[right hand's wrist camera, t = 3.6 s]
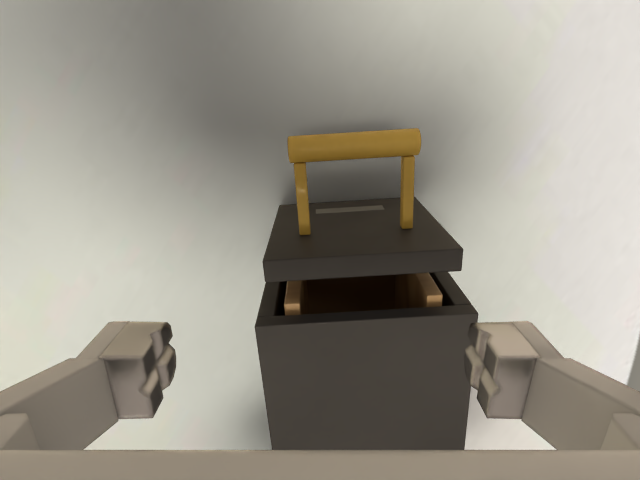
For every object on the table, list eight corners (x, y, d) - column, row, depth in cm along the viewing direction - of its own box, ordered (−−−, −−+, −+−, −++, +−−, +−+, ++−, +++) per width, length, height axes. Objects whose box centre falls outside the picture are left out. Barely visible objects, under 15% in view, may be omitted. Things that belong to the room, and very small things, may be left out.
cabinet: (276, 240, 29) (254, 326, 19) (418, 231, 29) (478, 313, 18) (298, 447, 37) (292, 591, 26) (411, 440, 37) (450, 582, 26)
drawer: (271, 127, 25) (248, 147, 16) (417, 117, 25) (473, 133, 16) (301, 421, 34) (296, 535, 26) (408, 415, 34) (441, 527, 26)
